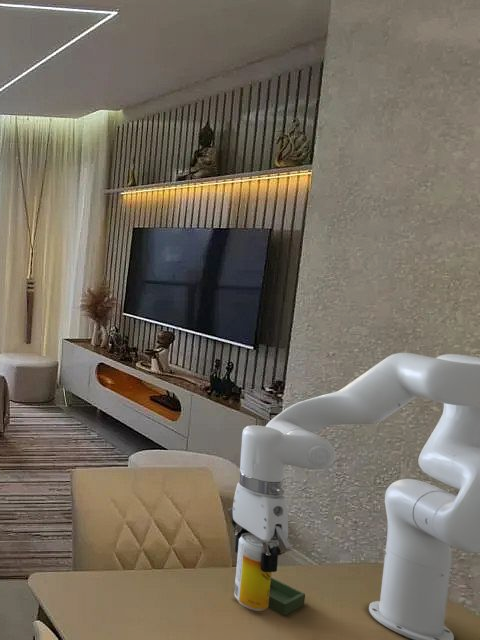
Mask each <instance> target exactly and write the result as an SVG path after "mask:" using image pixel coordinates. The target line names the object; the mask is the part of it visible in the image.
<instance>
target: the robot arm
mask: <svg viewBox="0 0 480 640" xmlns="http://www.w3.org/2000/svg"><path fill="white" fill-rule="evenodd" d="M417 398H422V399H426V400H430V401H433V402H436V403H439V404H443V410H442V414H441V416H440V418H439V420H438V421H437V424H436V426H435V427H434V429H433V431H432V432H431V434H430V436H429V438H428V439H427V440H426V442H425V444H424V446H423V448H422V449H421V451H420V453H419V456H418V461H417V462H418V466H419V468H420V469H421V470H422V472H423V473H425V474H426V475H428V476H429V477H431V478H433V479H435V480H437V481H439V482H441V483H443V484H446V485H447V486H450V487H452V488H454V489H457V490H459V491H458V493H457V495H455V494H453V493H451V492H449V491H448V490H445V489H442V488H440V487H438V486H436V485H433V484H431V483H429V482H426V481H422V480H419V479H413V478H401V479H397V480H395V481H393V482H392V483H391V484H390V485H388V487H387V489H386V490H385V493H384V505H385V513H386V522H387V534H386V542H385V543H386V544H385V553H384V560H383V570H382V577H381V587H380V588H381V589H380V597H379V600H376V601H372V602H370V603H369V605H368V612H369V614H370V615H371V616H372V617H373V618H374V619H375V620H376V621H377V622H378V623H380V624H381V625H383V626H384V627H386V628H387V629H389V630H391V631H393V632H395V633H397V634H398V635H400V636H404V637H405V638H408V639H411V640H455V635H454V633H453V632H452V630H450V629H449V628H448V627H447V626H446V625H445V619H446V610H447V602H448V594H449V587H450V578H451V569H452V564H453V563H452V562H453V554H452V553H453V552H452V548H454V549H456V550H459V551H462V552H465V553H469V554H479V553H480V357H477V356H472V355H466V354H459V353H446V354H441V355H438V356H436V357H433V356H427V355H423V354H418V353H413V352H398V353H393V354H390V355H389V356H387V357H385V358H384V359H382V360H381V361H379V362H378V363H376V364H375V365H374V366H372V367H371V368H369V369H368V370H366V371H365V372H364V373H362V374H361V375H359V376H358V377H357V378H355V379H353V380H352V381H351V382H349V383H348V384H346V385H345V386H344V387H342V388H340V389H339V390H337V391H334V392H329V393H326V394H322V395H319V396H315V397H311V398H307V399H304V400H301V401H299V402H296V403H294V404H292V405H290V406H288V407H287V408H285V409H284V410H282V411H281V412H280V413H278V414H276V415H275V416H274V417H273V418H272V419H271V420H270V421H268V422H267V423H266V425H258V424H257V425H256V424H254V425H253V424H252V425H247V426H245V427H244V428H243V429H242V434H241V445H240V446H241V447H240V462H239V477H238V479H239V480H238V481H237V484H236V486H235V487H236V488H235V492H234V496H233V503H232V507H231V508H229V509H228V510H227V511H226V512H227V515H228V517H229V518H230V520H231V521H230V523H231V524H232V527H233V533H234V535H235V545H234V546H235V547H234V552H235V553H236V554H238V544H239V538H240V537H241V536H242V534H244V533H252V534H254V535H255V536H257V537H258V538H260V539H261V540H262V544H263V548H264V552H265V553H262V557H261V570H262V571H263V572H271V573H276V572H277V571H278V559H279V556H281V555H283V554H285V553H286V552H289V551H291V550H292V549H293V547H292V546H291V543H290V542H289V540H288V538H289V514H288V513H289V512H288V506H287V505H288V504H287V501H286V497H285V496H283V495H284V494H285V490H284V489H283V486H284V473H285V471H284V470H285V466H292V467H296V468H301V469H307V470H324V469H326V468H329V467H330V466H332V465H333V464H334V463H335V461H336V459H337V458H336V457H337V456H336V455H337V454H336V450H335V448H334V447H333V444H332V443H330V441H328V440H327V439H325V438H324V437H322V436H320V435H319V434H316V433H314V432H315V431H318V430H320V429H323V428H327V427H331V426H336V425H373V424H379V423H381V422H383V421H385V420H386V419H387V418H389V417H390V416H391V415H393V414H394V413H396V412H397V411H399V410H400V409H402V408H403V407H405V406H406V405H408V404H409V403H410V402H412V401H414V400H416V399H417ZM269 543H271V544H272V547H273V548H270V546H269ZM451 547H452V548H451Z"/></svg>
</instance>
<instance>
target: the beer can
mask: <svg viewBox="0 0 480 640" xmlns="http://www.w3.org/2000/svg"><path fill="white" fill-rule="evenodd" d="M269 546H270V548H273V545H272V543H269ZM262 553H265V552H264V548H263V544H262V540H261V539H260V538H258V537H257V536H255V535H254V534H252V533H251V532H250V533H244V534H242V536H241V537H240V538H239V544H238V553H237V557H236V558H237V559H236V569H235V570H236V571H235V581H234V592H233V594H234V597H235V599H236V600H237V602H238V603H239V604H240V605H241V606H243V607H245V608H247V609H250V610H252V611H257V612H263V611H265V610H266V609H268V608H269V607H268V604H269V593H270V583H271V578H272V572H263V571H262V570H261V557H262Z"/></svg>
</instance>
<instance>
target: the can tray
mask: <svg viewBox="0 0 480 640" xmlns="http://www.w3.org/2000/svg"><path fill="white" fill-rule="evenodd" d="M305 600H306V593H305V592H302V591H300V590H298V589H296V588H293V587H292V586H290V585H288V584H286V583H283V582H281V581H279V580H278V579H275V578H273V577H271V583H270V593H269V604H268V608H269V609H271V610H273V611H275V612H277V613H279V614H281V615H282V616H286V615H288V614H290V613H292V612H293V611H295V610H297V609H299V608H301V607H303V606H304V605H305V602H306V601H305Z"/></svg>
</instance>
